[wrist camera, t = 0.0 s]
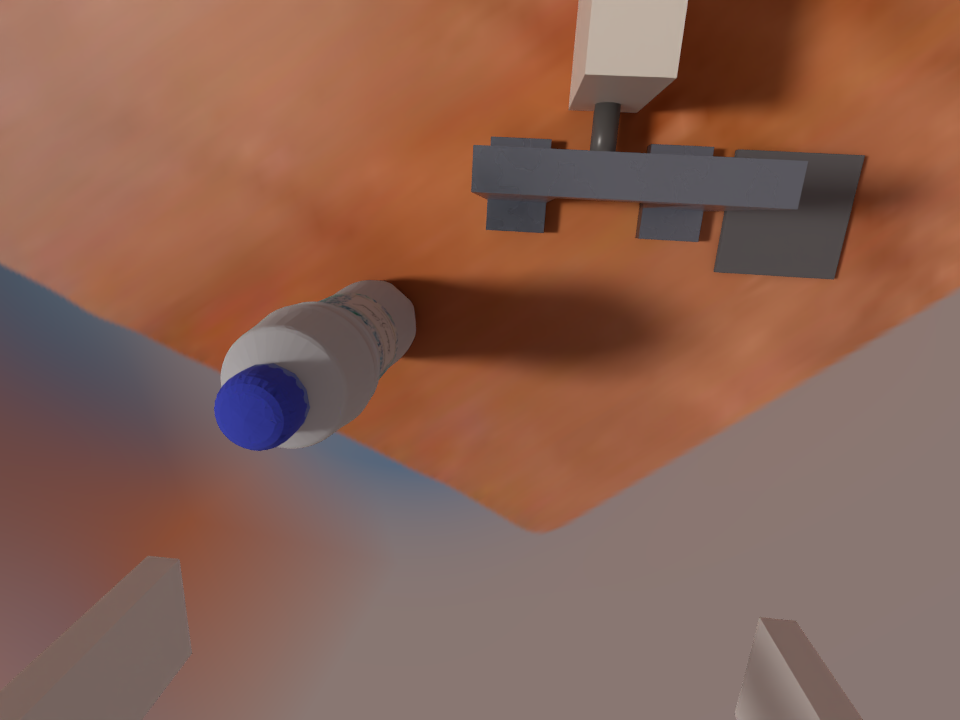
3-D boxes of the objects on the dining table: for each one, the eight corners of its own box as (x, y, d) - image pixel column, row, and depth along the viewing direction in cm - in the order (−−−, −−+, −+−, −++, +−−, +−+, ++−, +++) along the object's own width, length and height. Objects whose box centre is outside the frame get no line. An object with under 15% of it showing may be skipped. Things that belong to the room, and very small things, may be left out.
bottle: (439, 339, 39) (359, 460, 20) (363, 373, 40) (219, 518, 21) (398, 258, 37) (269, 304, 18) (322, 296, 38) (125, 376, 19)
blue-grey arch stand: (491, 138, 34) (475, 95, 22) (708, 149, 34) (819, 110, 21) (486, 229, 36) (469, 236, 24) (693, 241, 35) (787, 255, 23)
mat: (735, 150, 34) (738, 149, 33) (860, 156, 33) (864, 155, 33) (713, 271, 36) (715, 272, 35) (830, 278, 35) (834, 279, 35)
